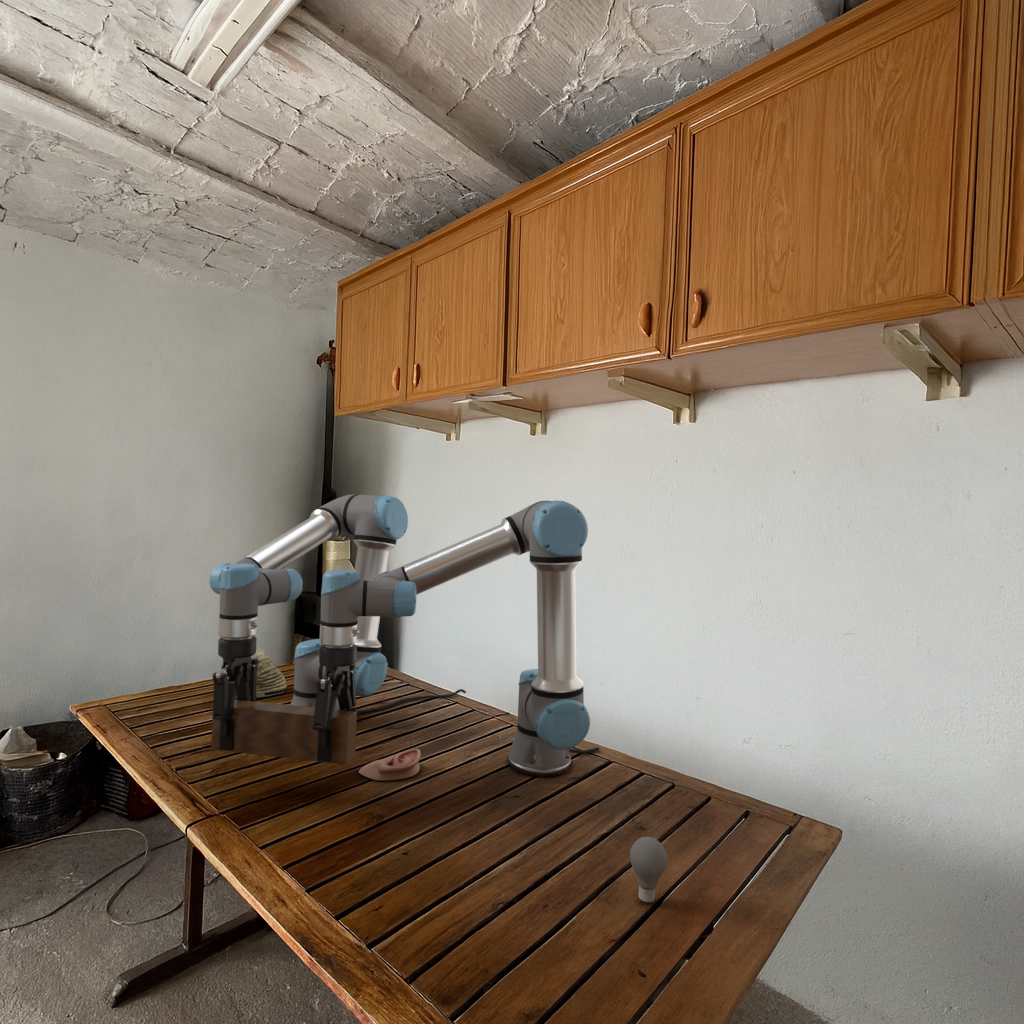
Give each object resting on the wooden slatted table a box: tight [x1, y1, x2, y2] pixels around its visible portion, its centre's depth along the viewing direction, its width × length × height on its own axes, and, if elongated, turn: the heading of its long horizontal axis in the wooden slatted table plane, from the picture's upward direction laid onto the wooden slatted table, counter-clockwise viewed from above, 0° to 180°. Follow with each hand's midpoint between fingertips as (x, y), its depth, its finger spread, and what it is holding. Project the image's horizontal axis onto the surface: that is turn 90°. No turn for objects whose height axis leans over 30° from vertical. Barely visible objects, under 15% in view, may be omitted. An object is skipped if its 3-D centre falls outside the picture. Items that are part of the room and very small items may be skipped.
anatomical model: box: [358, 748, 422, 782], centre depth 147 cm, size 13×4×12 cm
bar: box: [210, 699, 358, 766], centre depth 134 cm, size 30×5×10 cm, turn 81°
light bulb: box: [629, 836, 668, 903], centre depth 103 cm, size 6×6×10 cm
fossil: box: [228, 647, 288, 699], centre depth 198 cm, size 9×18×15 cm, turn 132°
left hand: (234, 744), depth 136 cm, fingers closed on bar, 5 cm apart
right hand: (334, 751), depth 132 cm, fingers open, 9 cm apart
